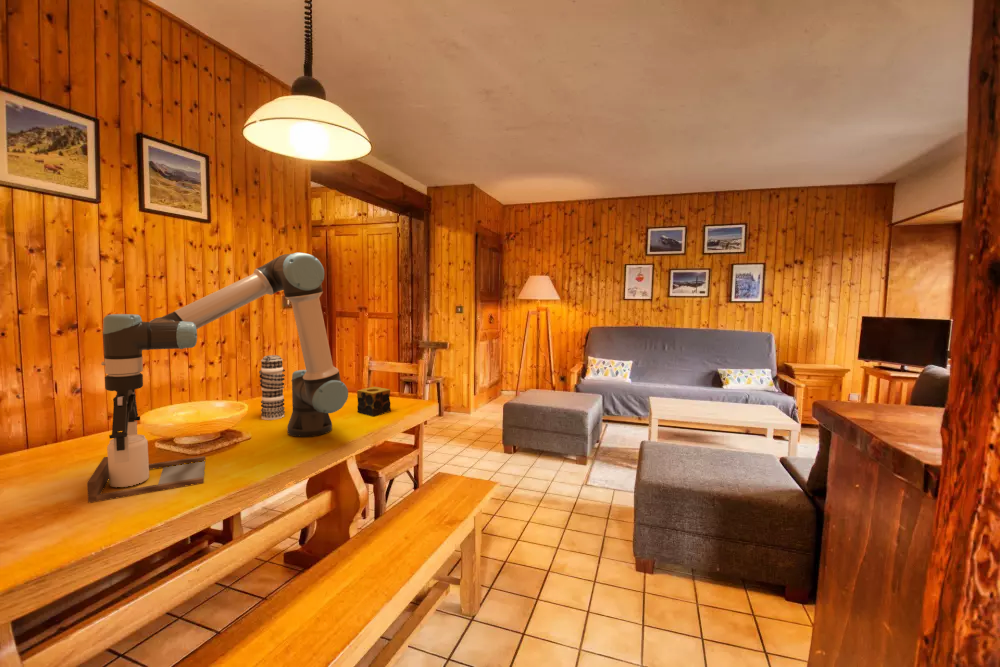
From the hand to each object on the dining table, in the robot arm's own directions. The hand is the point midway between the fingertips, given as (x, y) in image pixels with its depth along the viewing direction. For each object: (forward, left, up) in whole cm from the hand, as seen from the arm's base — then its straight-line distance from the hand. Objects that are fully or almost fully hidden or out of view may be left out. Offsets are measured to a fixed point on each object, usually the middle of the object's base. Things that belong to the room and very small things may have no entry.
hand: (126, 453), depth 116 cm
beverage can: (0, 0, -8) cm, 8 cm away
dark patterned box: (-77, -38, -9) cm, 86 cm away
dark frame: (-5, 0, -8) cm, 10 cm away
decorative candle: (-39, -49, -8) cm, 63 cm away
